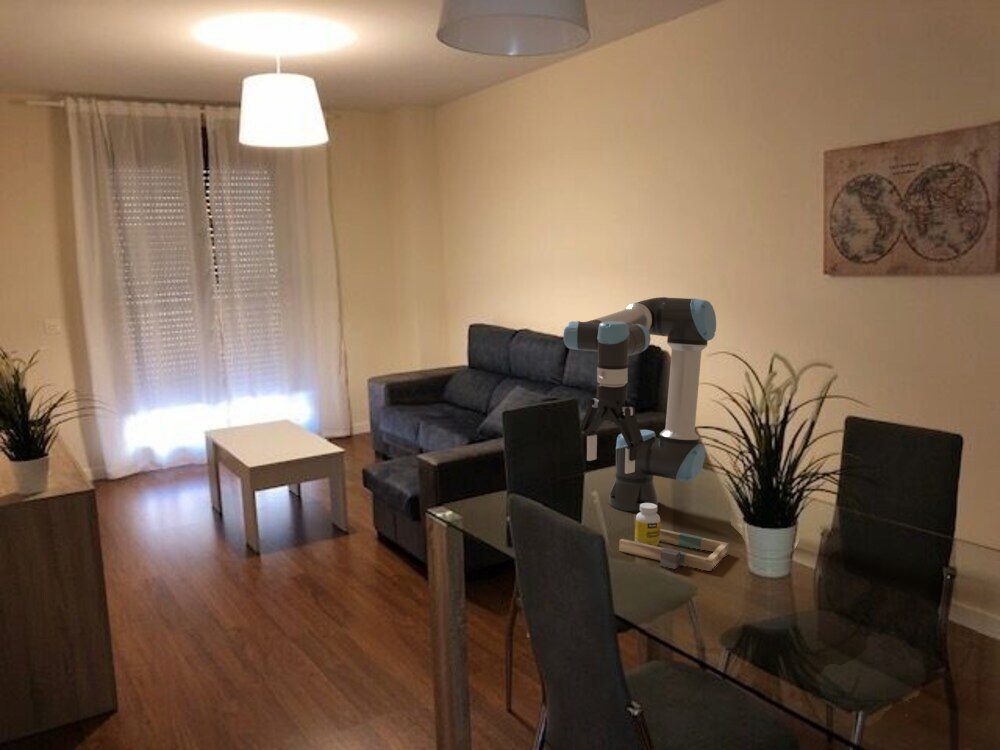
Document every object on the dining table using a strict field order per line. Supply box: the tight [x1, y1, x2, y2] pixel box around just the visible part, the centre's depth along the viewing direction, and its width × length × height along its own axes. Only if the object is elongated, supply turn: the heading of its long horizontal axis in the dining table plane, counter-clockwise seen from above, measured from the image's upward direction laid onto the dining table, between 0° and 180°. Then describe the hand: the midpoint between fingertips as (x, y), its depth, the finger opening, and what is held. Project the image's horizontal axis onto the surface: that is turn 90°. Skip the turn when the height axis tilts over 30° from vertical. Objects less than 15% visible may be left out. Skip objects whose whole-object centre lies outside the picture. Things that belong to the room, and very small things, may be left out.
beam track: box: [618, 528, 729, 570], centre depth 216 cm, size 18×25×4 cm
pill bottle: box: [634, 503, 661, 547], centre depth 220 cm, size 6×6×12 cm
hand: (610, 466), depth 207 cm, fingers open, 13 cm apart
